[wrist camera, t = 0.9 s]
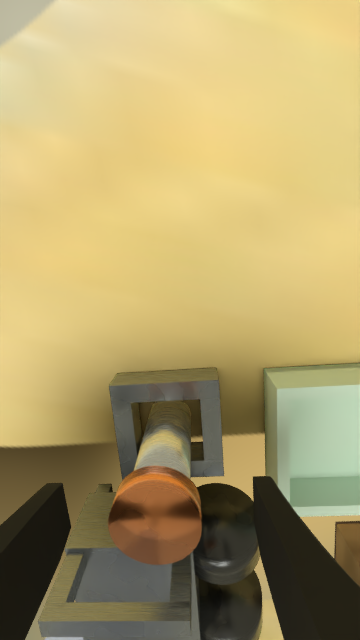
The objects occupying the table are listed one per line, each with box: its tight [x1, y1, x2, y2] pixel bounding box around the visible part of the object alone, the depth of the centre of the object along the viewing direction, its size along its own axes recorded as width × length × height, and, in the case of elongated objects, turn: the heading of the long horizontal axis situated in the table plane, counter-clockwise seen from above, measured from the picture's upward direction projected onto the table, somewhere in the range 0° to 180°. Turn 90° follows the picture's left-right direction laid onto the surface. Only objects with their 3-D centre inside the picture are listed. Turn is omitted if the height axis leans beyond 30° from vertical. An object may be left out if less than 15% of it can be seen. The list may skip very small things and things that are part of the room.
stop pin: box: [108, 400, 202, 565], centre depth 13 cm, size 3×3×7 cm
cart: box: [38, 483, 262, 640], centre depth 15 cm, size 8×10×7 cm
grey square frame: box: [109, 368, 224, 479], centre depth 16 cm, size 6×6×2 cm
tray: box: [264, 363, 360, 517], centre depth 15 cm, size 7×7×2 cm
